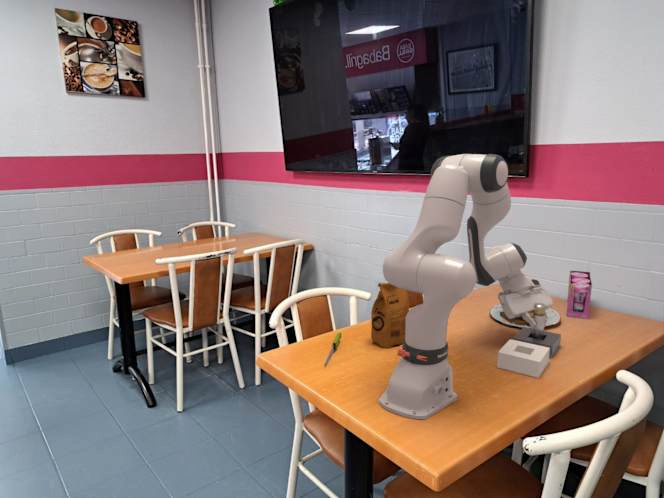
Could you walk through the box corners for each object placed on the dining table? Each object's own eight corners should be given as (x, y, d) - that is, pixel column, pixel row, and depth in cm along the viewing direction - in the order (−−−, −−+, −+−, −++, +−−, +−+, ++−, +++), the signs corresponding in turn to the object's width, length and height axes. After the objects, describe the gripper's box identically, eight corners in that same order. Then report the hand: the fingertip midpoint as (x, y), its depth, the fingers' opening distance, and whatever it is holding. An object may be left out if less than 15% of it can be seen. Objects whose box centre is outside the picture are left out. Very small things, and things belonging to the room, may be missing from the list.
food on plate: (574, 324, 177) (575, 307, 176) (527, 336, 166) (529, 319, 165) (520, 305, 199) (521, 290, 198) (476, 315, 189) (477, 299, 187)
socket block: (551, 358, 148) (552, 346, 147) (512, 349, 155) (513, 338, 154) (560, 345, 157) (561, 334, 157) (522, 337, 165) (523, 326, 164)
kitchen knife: (326, 373, 144) (326, 364, 143) (322, 372, 144) (322, 364, 143) (341, 339, 165) (341, 331, 164) (338, 339, 165) (338, 331, 164)
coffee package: (367, 341, 164) (366, 280, 160) (393, 332, 171) (394, 274, 167) (385, 350, 156) (385, 287, 152) (412, 341, 163) (413, 280, 159)
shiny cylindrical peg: (541, 350, 154) (544, 307, 151) (529, 348, 156) (532, 305, 153) (543, 346, 157) (547, 304, 154) (532, 344, 159) (535, 302, 156)
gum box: (589, 320, 179) (592, 286, 177) (566, 317, 183) (569, 284, 180) (587, 302, 200) (590, 271, 197) (567, 300, 204) (569, 270, 201)
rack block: (538, 378, 136) (539, 362, 135) (497, 367, 143) (497, 352, 142) (548, 362, 145) (549, 347, 144) (509, 353, 152) (509, 339, 151)
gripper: (501, 288, 153) (524, 326, 147) (542, 279, 163) (566, 314, 156) (490, 298, 158) (512, 334, 151) (531, 288, 168) (553, 322, 161)
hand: (540, 324), depth 154 cm, fingers closed on shiny cylindrical peg, 4 cm apart
